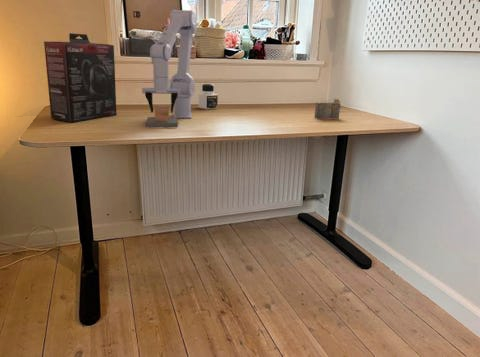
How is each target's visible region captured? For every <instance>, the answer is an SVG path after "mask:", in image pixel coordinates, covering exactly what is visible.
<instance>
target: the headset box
mask: <svg viewBox="0 0 480 357" xmlns="http://www.w3.org/2000/svg"><path fill="white" fill-rule="evenodd" d="M78 37H80V38H78ZM68 40H69V41H43V46H44V55H45V66H46V77H47V78H46V79H47V87H48V97H49V99H48V101H49V107H50V119H52V120H58V121H63V122H66V123H75V122H81V121H87V120H94V119H101V118H107V117H108V118H109V117H113V116H117V96H116V95H117V94H116V92H117V91H116V70H115V69H116V68H115V67H116V66H115V46H114V44H107V43H96V42H95V43H94V42H90V39H89V36H88V34H87V33H85V34H84V33H71V32H70V33H69V35H68Z"/></svg>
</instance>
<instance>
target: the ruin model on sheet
mask: <svg viewBox="0 0 480 357" xmlns="http://www.w3.org/2000/svg"><path fill="white" fill-rule="evenodd" d="M340 111H341V101H340V100H339V98H333V102H319V103H318V102H315V110H314V117H315V118H314V119H316V118H339V119H340Z"/></svg>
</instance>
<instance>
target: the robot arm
mask: <svg viewBox="0 0 480 357" xmlns="http://www.w3.org/2000/svg"><path fill="white" fill-rule="evenodd" d="M169 21H170V22H169V24H168V27H167V29H166V30H164V31H163V32H162V33H161V34H160V37H159V38H158V40H157V41H156V43H154V44H152V45H151V46H150V48H149V55H150V58H151V64H152V66H153V70H152V73H153V87H142V88H141V91H142V94H144V97H145V98H146V101H147V103H148V105H149V108H150V113H154V106H153V105H154V104H153V94H158V95H159V94H161V95H168V94H169V95H170V101H171V102H170V105H171V106H170V113H171V114H173V115H172V117H177V119H192V118H193V117H192V112H191V111H192V110H191V108H192V106H191V105H192V104H191V102H192V100H191V99H192V97H193V96H194V94H195V91H196V87H195V79H194V78H193V77H192V75H191V74H190V64H191V63H190V62H191V54H192V41H193V35H194V34H195V33H196V32H197V31H196V30H197V23H198V18H197V13H196V11H195V10H194V9H192V10H190V9H189V10H186V9H184V10H183V9H182V10H181V9H179V10H177V9H172V10H171V12H170V14H169ZM177 34H179V35H180V39H179V51H178V59H177V60H178V61H177V72H176V73H175V74H174V75H173V76H171V80H170V77H169V76H170V74H169V69H170V68H169V61H170V60H171V57H172V52H173V46H174V45H175V43H176V41H177V37H176V35H177Z"/></svg>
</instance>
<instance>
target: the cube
mask: <svg viewBox="0 0 480 357" xmlns="http://www.w3.org/2000/svg"><path fill="white" fill-rule="evenodd" d="M169 111H170V110H169V106H165V105H164V106H162V105H159V106H158V105H157V106H155V107H154V117H155V121H168V120H169V117H170V116H169V115H170V114H169Z"/></svg>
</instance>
